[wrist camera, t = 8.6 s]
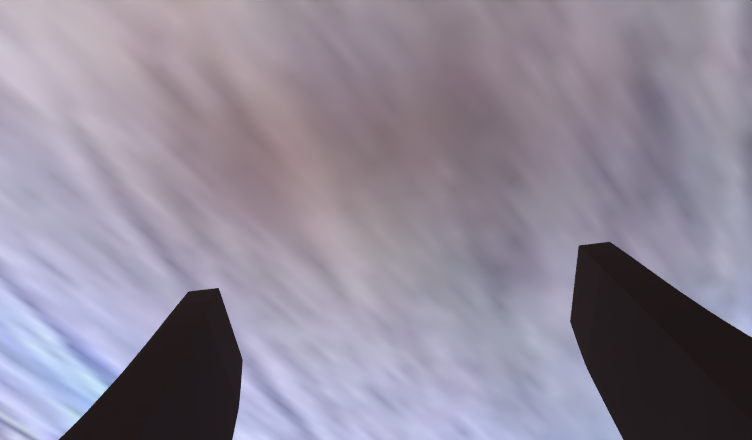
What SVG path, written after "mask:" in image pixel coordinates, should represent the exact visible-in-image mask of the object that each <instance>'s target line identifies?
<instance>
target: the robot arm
mask: <svg viewBox="0 0 752 440" xmlns="http://www.w3.org/2000/svg"><path fill="white" fill-rule="evenodd" d="M570 322H571V325H572V328H573V331H574V334H575V337H576V340H577V343H578V346H579V348H580V351H581V354H582V356H583V359H584V362H585V365H586V367H587V369H588V371H589V373H590V375H591V377H592V379H593V381H594V383H595V385H596V387H597V389H598V391H599V393H600V395H601V397H602V399H603V401H604V403H605V405H606V407H607V409H608V411H609V413H610V415H611V417H612V418H613V420H614V422H615V424H616V426H617V428H618V430H619V432H620V434H621V436H622V438H623V440H752V337H750V336H748V335H747V334H745V333H743V332H742V331H740V330H738V329H737V328H735V327H734V326H732V325H730V324H729V323H727V322H725V321H724V320H722V319H721V318H719V317H717V316H716V315H714V314H713V313H711V312H710V311H708V310H707V309H705V308H704V307H702V306H701V305H699V304H698V303H696V302H695V301H693V300H692V299H690V298H689V297H687V296H686V295H684V294H683V293H681V292H680V291H678V290H677V289H676V288H674V287H673V286H671V285H670V284H668V283H667V282H666V281H664V280H663V279H661V278H660V277H659V276H657V275H656V274H654V273H653V272H652V271H650V270H649V269H647V268H646V267H645V266H643V265H642V264H640V263H639V262H638V261H636V260H635V259H633V258H632V257H631V256H629V255H628V254H626V253H625V252H624V251H622V250H621V249H619V248H618V247H616V246H615V245H613V244H612V243H610V242H605V243H597V244H588V245H580V246H579V249H578V258H577V267H576V275H575V284H574V293H573V302H572V311H571V320H570ZM242 361H243V360H242V357H241V354H240V351H239V348H238V345H237V342H236V339H235V336H234V333H233V330H232V327H231V324H230V321H229V318H228V315H227V312H226V309H225V306H224V303H223V300H222V297H221V294H220V291H219V288H215V289H207V290H199V291H190V292H188V293H187V294H186V295H185V297H184V298H183V299H182V300H181V301H180V303H179V304H178V305H177V306H176V307H175V309H174V310H173V311H172V312H171V314H170V315H169V316H168V317H167V319H166V320H165V321H164V322H163V324H162V325H161V326H160V327H159V329H158V330H157V331H156V332H155V334H154V335H153V336H152V337H151V339H150V340H149V341H148V342H147V344H146V345H145V346H144V347H143V348H142V350H141V351H140V352H139V353H138V354H137V356H136V357H135V358H134V359H133V360H132V362H131V363H130V364H129V365H128V366H127V368H126V369H125V370H124V371H123V372H122V374H121V375H120V376H119V377H118V378H117V379H116V380H115V381H114V382H113V384H112V385H111V386H110V387H109V388H108V389H107V390H106V391H105V392H104V393H103V395H102V396H101V397H100V398H99V399H98V400H97V401H96V402H95V403H94V404H93V406H92V407H91V408H90V409H89V410H88V411H87V412H86V413H85V414H84V415H83V416H82V417H81V418H80V419H79V420H78V421H77V422H76V423H75V424H74V425H73V426H72V427H71V428H70V429H69V430H68V431H67V432H66V433H65V434H64V435H63V436H62V437H61V438H60V439H59V440H232V438H233V433H234V429H235V424H236V419H237V414H238V409H239V400H240V389H241V375H242Z"/></svg>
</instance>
